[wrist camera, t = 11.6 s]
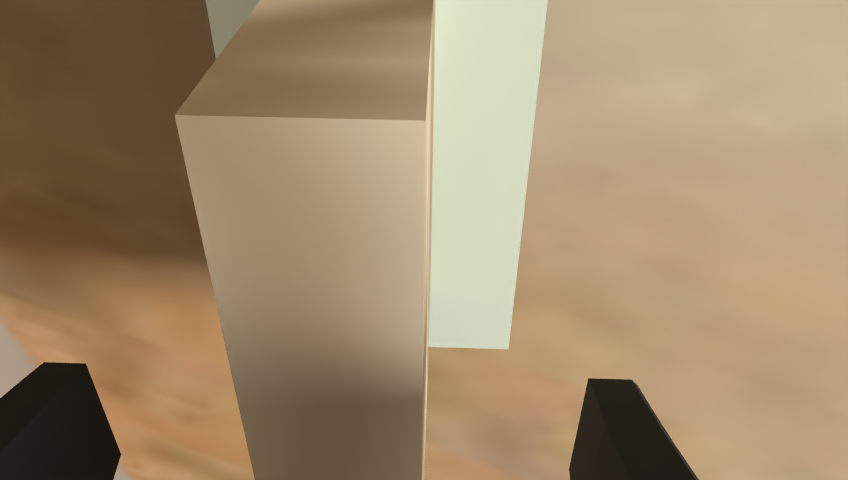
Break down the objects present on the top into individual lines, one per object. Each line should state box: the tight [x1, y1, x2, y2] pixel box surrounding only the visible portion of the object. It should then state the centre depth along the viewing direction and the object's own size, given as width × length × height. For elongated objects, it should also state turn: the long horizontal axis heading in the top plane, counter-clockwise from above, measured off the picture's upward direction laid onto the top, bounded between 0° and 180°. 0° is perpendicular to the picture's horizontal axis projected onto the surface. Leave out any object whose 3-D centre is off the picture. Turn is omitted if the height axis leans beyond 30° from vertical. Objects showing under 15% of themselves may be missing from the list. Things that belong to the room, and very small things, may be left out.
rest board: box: [206, 0, 548, 349], centre depth 17 cm, size 12×7×1 cm, turn 179°
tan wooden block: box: [175, 0, 436, 480], centre depth 13 cm, size 2×9×8 cm, turn 179°
